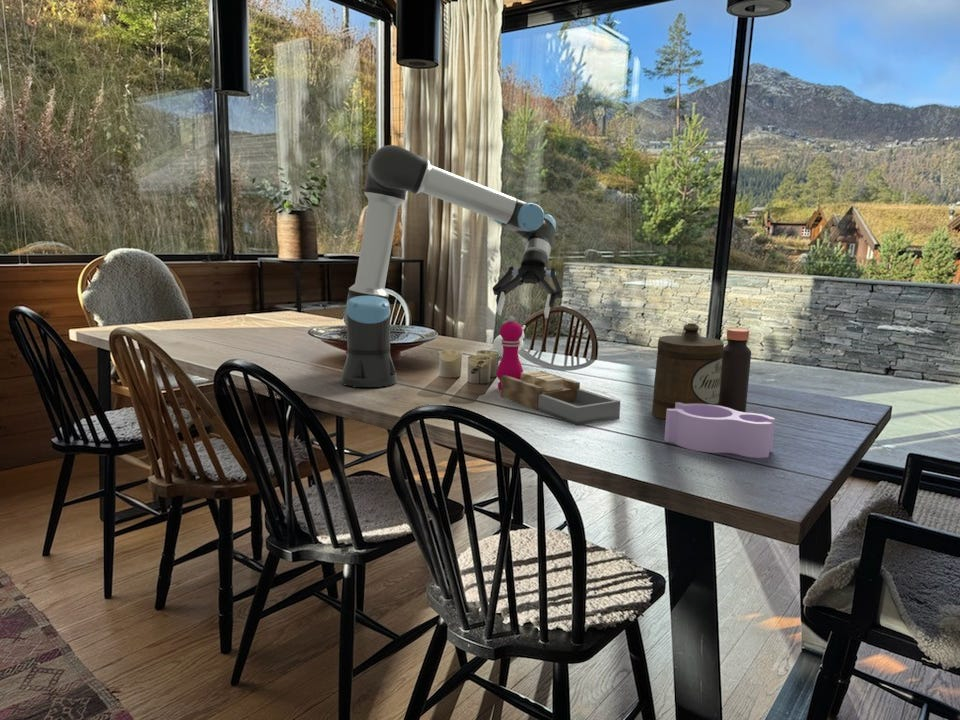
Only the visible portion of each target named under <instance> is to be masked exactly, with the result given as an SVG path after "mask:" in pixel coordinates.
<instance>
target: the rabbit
mask: <svg viewBox="0 0 960 720" xmlns="http://www.w3.org/2000/svg"><path fill="white" fill-rule="evenodd" d="M521 327H522V336H521V337H520V338H519V340H520V346H519V347H518V352H519V351H520V350H522V348H523V346H524V339H525V329H526V325H525V324H524V325H522V326H521ZM502 340H503V338H502V337H501V335H500V334H499V335H497V336H496V337H495V339H494V340H493V342H492V343H493V344H492V347H490V349H489V351H490V350H497V351H498V352H499V355H500V357H499V358H501V359H502V357H503V345H501V344H502ZM518 357H519V358H520V357H521V356H520V354H519V353H518Z"/></svg>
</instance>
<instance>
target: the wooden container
mask: <svg viewBox="0 0 960 720" xmlns="http://www.w3.org/2000/svg"><path fill="white" fill-rule="evenodd" d="M699 329H700V326H699V325H698V324H696V323H694V322H693V323H691V322H688V323H687V324H684V326H683V330H684V332H683V333H682V334H681V335H680V334H678V335H673V334H672V335H663V336H660V337H658V340H657V353H656V363H655V364H656V365H655V372H654V373H655V374H654V382H653V383H654V384H653V394H652V398H653V399H652V410H651V411H652V414H653V415H654V416H655V417H656V418H659V419H661V418H662V420H664V421H666V411H667V409H675V403H676V402H681V403H683V404H693V403H698V404H712V405H718V403H719V394H720V383H721V368H722V355H723V348H724V347H725V343H724V341H722V340H720V339H717V338H714V337H713V338H712V337H706V336H701V334H699V332H698V331H699Z"/></svg>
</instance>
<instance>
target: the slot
mask: <svg viewBox="0 0 960 720" xmlns="http://www.w3.org/2000/svg"><path fill="white" fill-rule="evenodd" d="M539 372H542V373H545V374H549V375H552V376H555V377H559V378H562V379H564V381H563V389H559V390H551V391H545V390H543V387H540V386H537V385H534V384H531V383H528V382H525V381H522V380H521V379H516V378H513V377H510V376H507V375H504V376H501V391H500V397H501V396H502V397H501V398H503V397H504V399H506V398H507V399H506V400H508V399H509V401H511V400H512V401H511V402H513V403H516V402H517V403H516V404H520V405H521V404H522V406H525V407H526V408H530V409H532V410H535V411H538V398H539V394H544V395H547V396H550V397H553V398H556V399H559V400H561V401H564V402H567V403H572V402H576V398H577V389H581V387H580V385H581V383H580V381H576V380H572V379H569V378H567V377H566V378H565V377H562V376H559V375H556V374H552V373H550V372H546V371H543V370H539Z"/></svg>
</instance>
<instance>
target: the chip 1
mask: <svg viewBox="0 0 960 720" xmlns="http://www.w3.org/2000/svg"><path fill="white" fill-rule="evenodd" d="M539 371H540V370H539ZM539 371H538V370H534V371H523V372H522V373H521V380H522V381H525V382H528V383H531V384H534V385H535V377H540V376H549V374H545V373H542V372H539Z"/></svg>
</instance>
